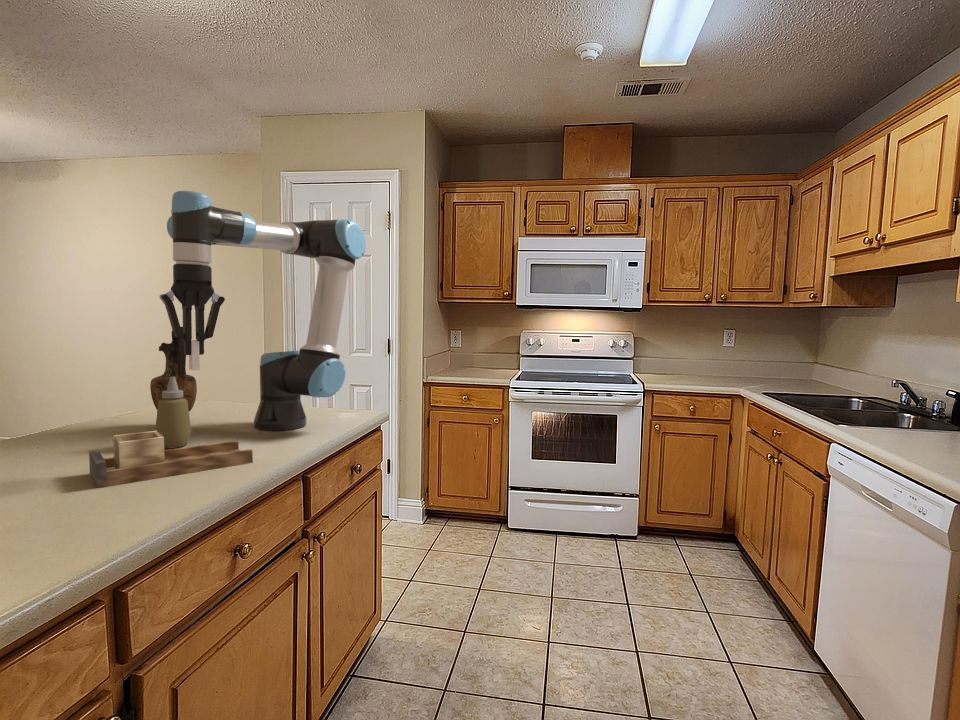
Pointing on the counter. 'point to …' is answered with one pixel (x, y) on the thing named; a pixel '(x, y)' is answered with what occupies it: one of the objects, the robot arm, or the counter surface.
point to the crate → (138, 449)
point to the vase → (174, 373)
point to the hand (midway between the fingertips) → (194, 369)
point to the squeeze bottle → (173, 417)
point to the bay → (169, 463)
